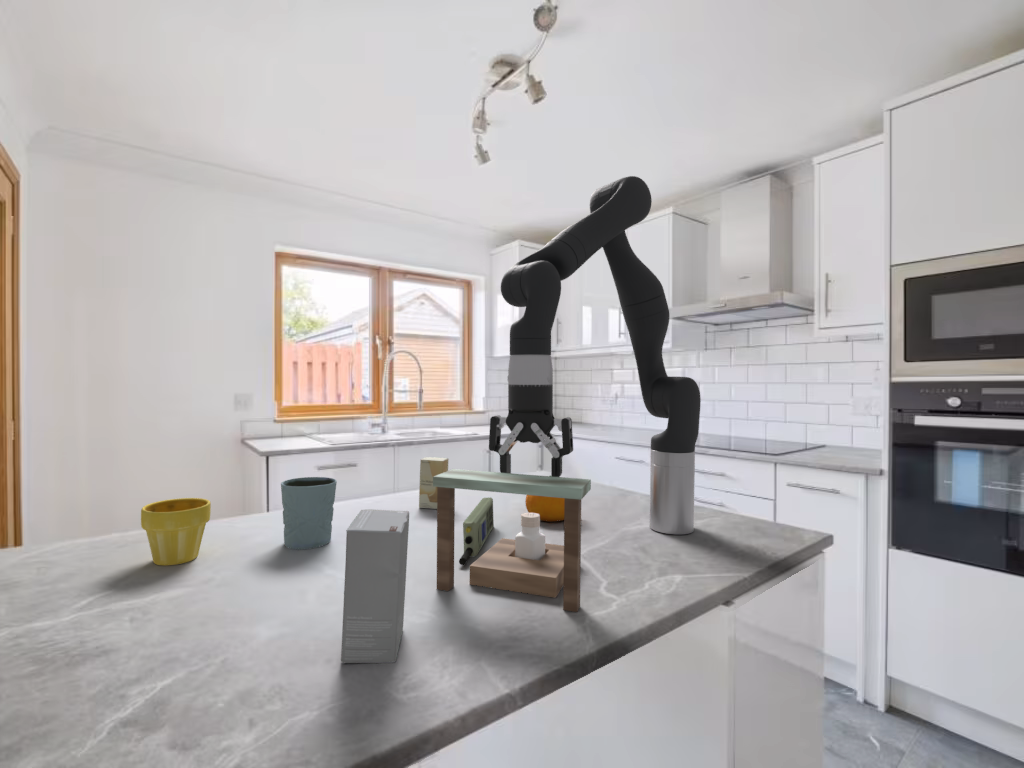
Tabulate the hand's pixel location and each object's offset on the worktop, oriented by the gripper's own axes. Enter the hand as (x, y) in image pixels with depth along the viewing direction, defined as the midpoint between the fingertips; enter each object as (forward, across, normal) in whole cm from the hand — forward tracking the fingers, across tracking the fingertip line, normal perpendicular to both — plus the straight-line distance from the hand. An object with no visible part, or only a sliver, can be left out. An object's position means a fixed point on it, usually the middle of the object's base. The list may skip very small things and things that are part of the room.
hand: (530, 477), depth 87 cm
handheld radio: (+16, +14, -9) cm, 23 cm away
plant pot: (+15, +60, +17) cm, 64 cm away
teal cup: (+16, +45, +1) cm, 48 cm away
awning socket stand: (+16, 0, +4) cm, 16 cm away
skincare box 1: (+16, +10, +30) cm, 35 cm away
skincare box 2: (+16, +35, -32) cm, 50 cm away
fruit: (+16, +5, -33) cm, 37 cm away
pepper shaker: (+16, 0, 0) cm, 16 cm away
